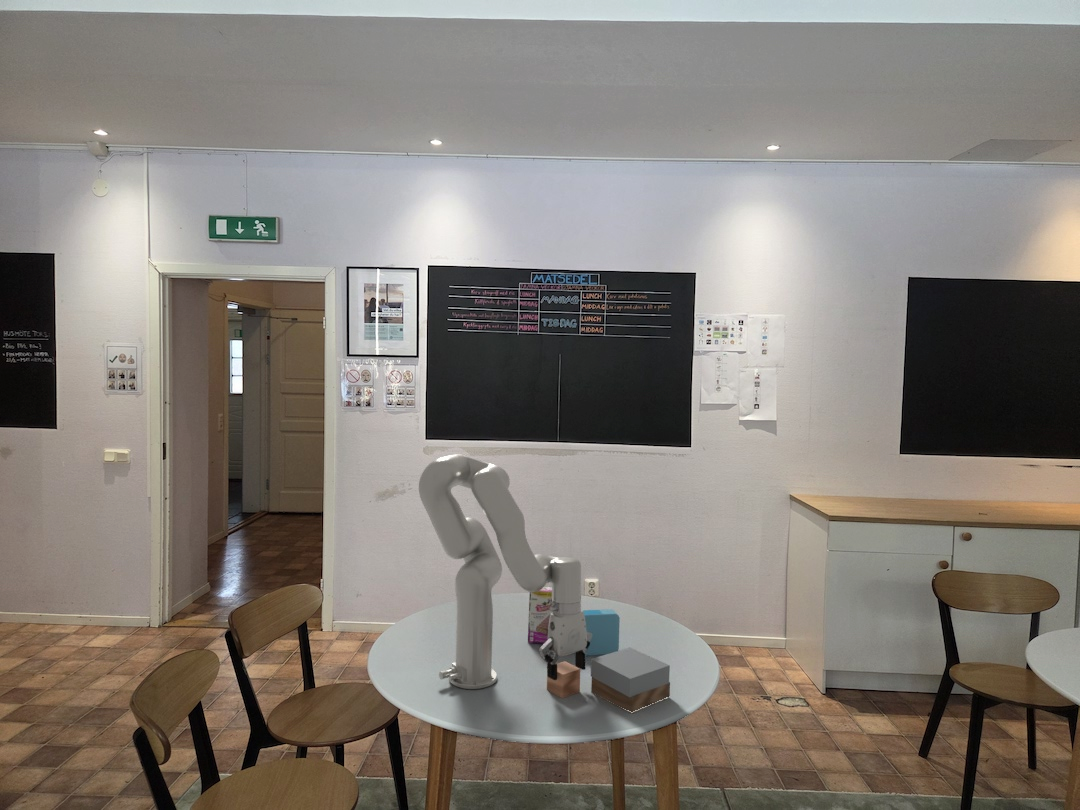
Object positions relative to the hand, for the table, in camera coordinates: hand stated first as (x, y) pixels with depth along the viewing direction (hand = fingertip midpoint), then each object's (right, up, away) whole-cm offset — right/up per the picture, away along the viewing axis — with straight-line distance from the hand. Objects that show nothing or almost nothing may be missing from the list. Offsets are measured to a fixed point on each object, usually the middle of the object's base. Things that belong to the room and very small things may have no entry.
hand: (566, 673), depth 170 cm
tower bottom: (+16, -6, -1) cm, 17 cm away
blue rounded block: (+10, -5, +26) cm, 28 cm away
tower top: (+16, -1, -2) cm, 16 cm away
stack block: (-1, -5, 0) cm, 5 cm away
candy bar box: (-5, -4, +33) cm, 34 cm away
